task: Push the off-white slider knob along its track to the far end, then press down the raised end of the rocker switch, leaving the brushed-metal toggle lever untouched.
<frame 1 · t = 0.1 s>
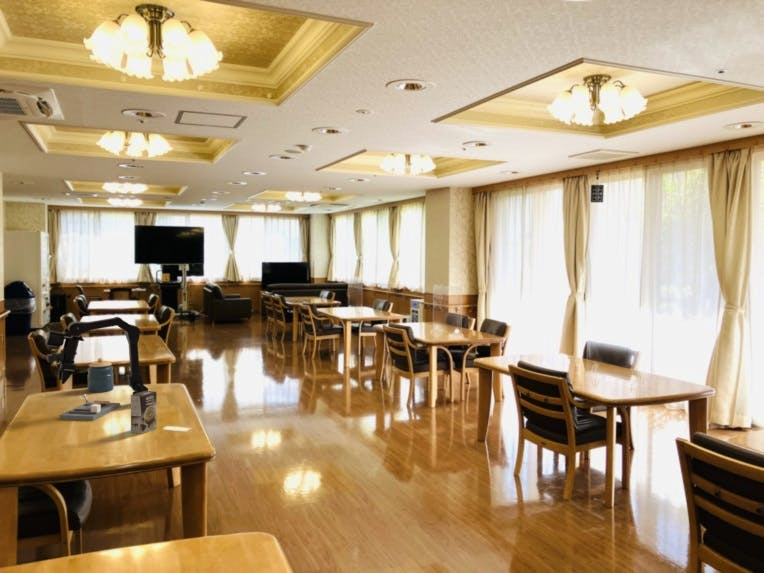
hand: (61, 381, 272), 15 cm above the table, tool pointing down, fingers open, 9 cm apart
toggle: (85, 397, 283), point 6 cm above the table, hinge at 25.0°
canister: (100, 390, 321), on the table
switch panel: (90, 413, 277), on the table
slider: (95, 408, 270), point 4 cm above the table, slide at 0.0 cm
coffee box: (144, 430, 252), on the table
rocker: (101, 402, 282), point 4 cm above the table, hinge at 15.0°
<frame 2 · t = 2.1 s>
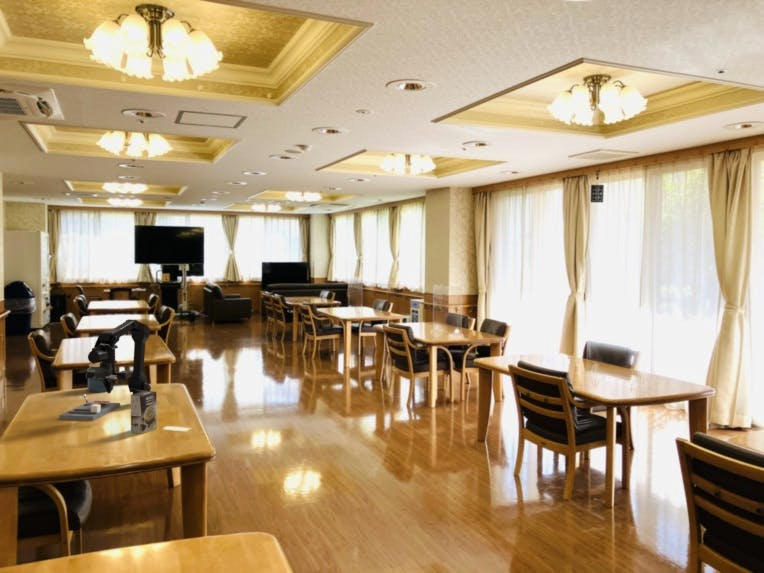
hand: (109, 393, 269), 11 cm above the table, tool pointing down, fingers closed
nothing on the table moved.
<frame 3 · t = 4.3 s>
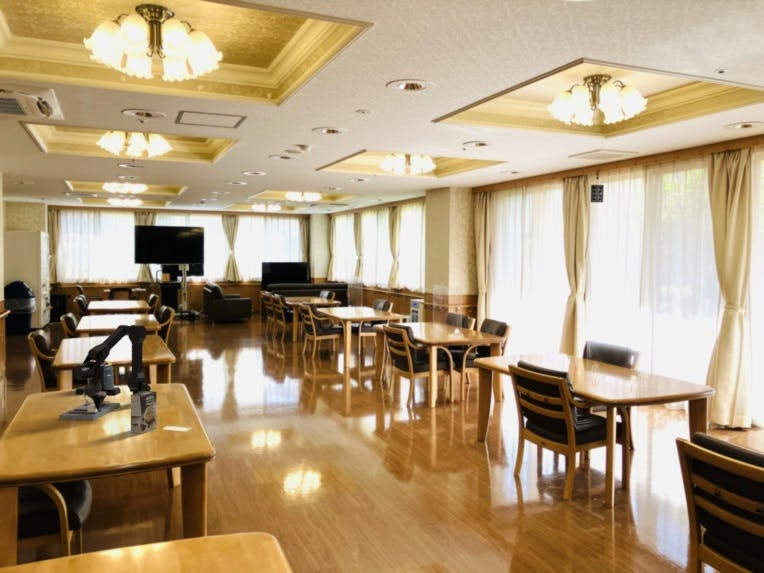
hand: (98, 409, 270), 4 cm above the table, tool pointing down, fingers closed
slider: (92, 408, 270), point 4 cm above the table, slide at 1.5 cm, touching gripper
everything else where it was.
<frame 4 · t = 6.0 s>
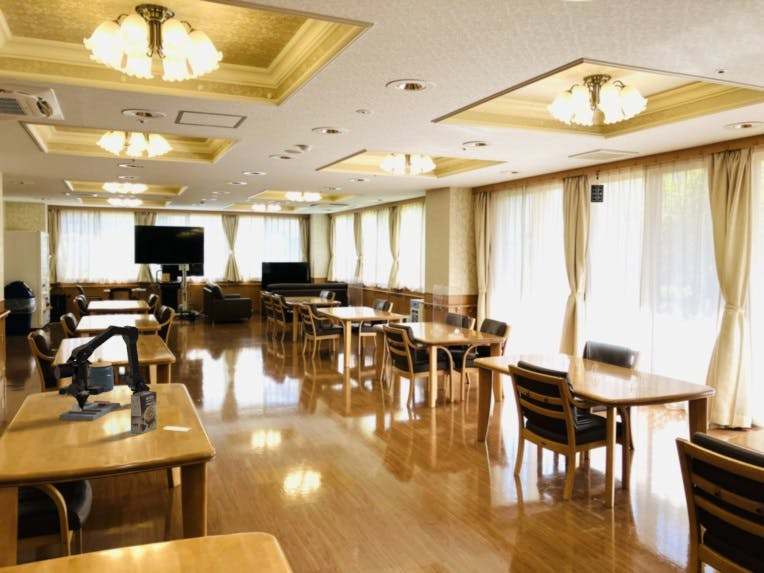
hand: (82, 409, 270), 4 cm above the table, tool pointing down, fingers closed
slider: (76, 408, 271), point 4 cm above the table, slide at 9.2 cm, touching gripper
everything else where it was.
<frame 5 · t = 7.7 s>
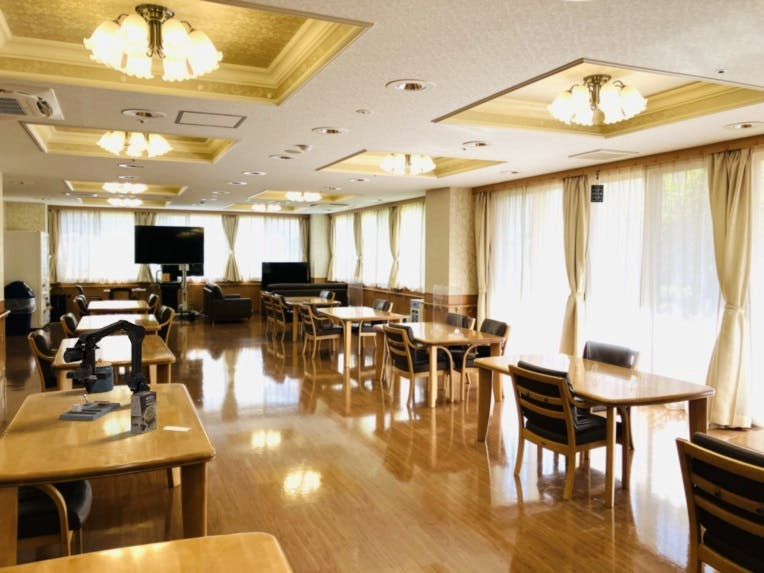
hand: (89, 393, 270), 11 cm above the table, tool pointing down, fingers closed
slider: (76, 408, 271), point 4 cm above the table, slide at 9.1 cm
everything else where it was.
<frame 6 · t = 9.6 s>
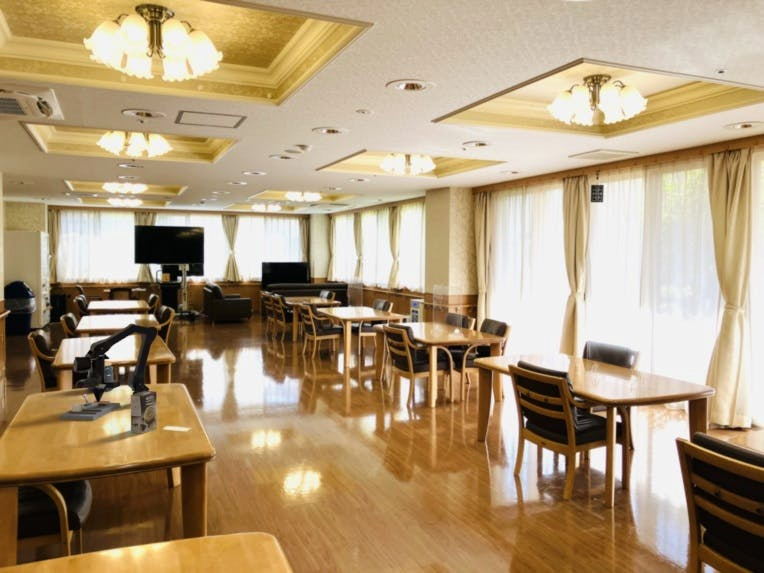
hand: (98, 401, 279), 5 cm above the table, tool pointing down, fingers closed, pressing on rocker
rocker: (101, 402, 282), point 4 cm above the table, hinge at 14.0°, touching gripper
everything else where it was.
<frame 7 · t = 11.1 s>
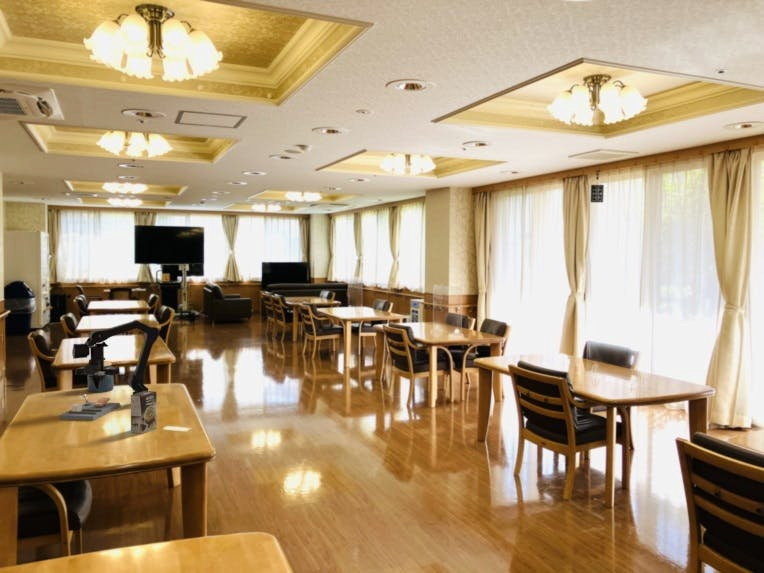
hand: (97, 388, 281), 10 cm above the table, tool pointing down, fingers closed
rocker: (101, 402, 282), point 4 cm above the table, hinge at -13.1°
everything else where it was.
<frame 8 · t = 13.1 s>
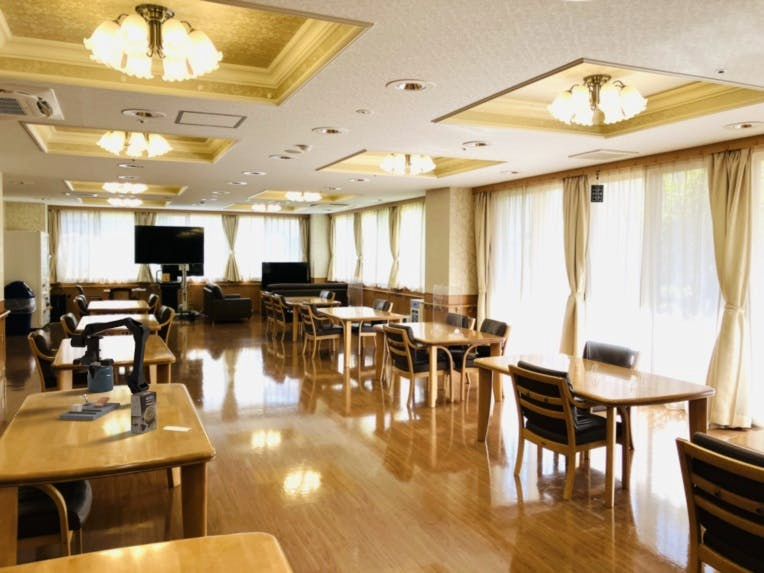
hand: (93, 378, 295), 12 cm above the table, tool pointing down, fingers closed
rocker: (101, 402, 282), point 4 cm above the table, hinge at -20.1°
everything else where it was.
at the end: slider slide at 9.1 cm; rocker at -20° (first picture: +15°); toggle at +25° (first picture: +25°) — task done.
